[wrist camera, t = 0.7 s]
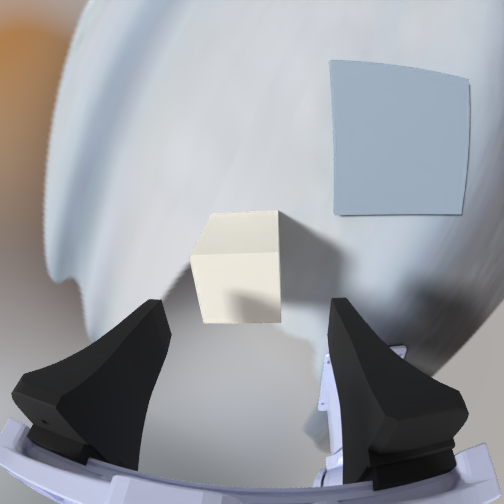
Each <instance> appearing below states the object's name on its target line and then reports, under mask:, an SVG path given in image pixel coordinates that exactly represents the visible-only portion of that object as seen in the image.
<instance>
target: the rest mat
mask: <svg viewBox="0 0 504 504" xmlns="http://www.w3.org/2000/svg"><path fill="white" fill-rule="evenodd" d="M329 65H330V78H331V93H332V111H333V138H334V214H335V215H374V214H461V212H462V205H463V198H464V191H465V183H466V173H467V162H468V148H469V122H470V102H469V79H466V78H462V77H458V76H454V75H449V74H445V73H440V72H435V71H430V70H424V69H418V68H412V67H406V66H399V65H391V64H382V63H372V62H361V61H345V60H330V61H329Z"/></svg>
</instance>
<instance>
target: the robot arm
mask: <svg viewBox="0 0 504 504" xmlns="http://www.w3.org/2000/svg"><path fill="white" fill-rule="evenodd" d="M171 335H172V334H171V331H170V328H169V325H168V321H167V318H166V314H165V311H164V308H163V304H162V300H154V299H149V300H147V301H146V302H145V303H143V304H142V305H141V306H140V307H138V308H137V309H136V310H135V311H134V312H132V313H131V314H130V315H129V316H128V317H126V318H125V319H124V320H123V321H122V322H120V323H119V324H118V325H117V326H115V327H114V328H113V329H112V330H110V331H109V332H108V333H106V334H105V335H104V336H102V337H101V338H100V339H98V340H97V341H95V342H94V343H92V344H91V345H89V346H88V347H86V348H85V349H83V350H81V351H79V352H77V353H76V354H73V355H72V356H70V357H68V358H66V359H64V360H62V361H59V362H57V363H55V364H52V365H50V366H47V367H45V368H42V369H39V370H35V371H32V372H29V373H25V374H24V375H23V376H22V377H21V379H20V381H19V382H18V384H17V385H16V387H15V388H14V390H13V392H12V393H11V394H12V398H13V400H14V402H15V404H16V405H17V406H18V408H20V409H21V411H22V412H23V413H24V414H25V415H26V416H27V418H28V419H29V420H30V421H31V422H32V423H33V425H32V427H31V429H30V428H29V427H28V426H26V425H25V424H23V423H21V422H19V421H17V420H15V419H13V418H9V420H8V422H7V423H6V425H5V427H4V429H3V430H2V432H1V434H0V466H1V467H2V468H3V469H5V470H6V471H7V472H9V473H10V474H11V475H12V476H14V477H15V478H16V479H18V480H19V481H21V482H22V483H24V484H25V485H27V486H29V487H30V488H32V489H34V490H36V491H37V492H39V493H41V494H43V495H44V496H46V497H48V498H50V499H52V500H53V501H55V502H57V503H59V504H489V503H491V502H492V501H494V500H495V499H497V498H498V497H500V496H501V491H500V487H499V483H498V480H497V476H496V473H495V470H494V466H493V463H492V460H491V457H490V454H489V451H488V448H487V445H486V443H482V444H479V445H477V446H474V447H472V448H469V449H466V450H463V451H461V452H459V453H457V454H456V455H454V454H453V450H452V449H453V448H454V447H455V442H454V439H453V437H454V436H455V435H456V434H457V432H458V431H459V430H460V429H461V427H462V426H463V425H464V423H465V422H466V420H467V418H468V414H469V413H468V410H467V408H466V405H465V402H464V400H463V398H462V396H461V394H460V392H459V391H458V390H456V389H453V388H451V387H449V386H447V385H444V384H442V383H440V382H438V381H436V380H435V379H433V378H431V377H429V376H428V375H426V374H424V373H423V372H421V371H419V370H418V369H416V368H415V367H414V366H412V365H411V364H409V363H408V362H407V361H405V360H404V357H405V354H406V351H407V349H406V347H405V346H404V345H401V346H393V347H388V346H387V345H386V344H385V343H384V342H383V341H382V340H381V339H380V338H379V337H378V336H377V334H376V333H375V332H374V331H373V330H372V329H371V328H370V327H369V325H368V324H367V323H366V322H365V321H364V320H363V318H362V317H361V316H360V315H359V313H358V312H357V311H356V310H355V308H354V307H353V306H352V304H351V303H350V302H349V300H348V299H347V298H331V307H330V317H329V326H328V346H329V353H327V354H326V355H325V358H324V366H323V374H322V382H321V389H320V396H319V403H318V410H320V411H326V410H327V412H328V422H329V434H330V446H331V453H332V456H330V457H327V458H326V468H324V469H321V470H320V471H319V473H318V474H317V476H316V478H315V480H314V482H313V486H312V487H308V488H248V487H247V488H246V487H231V486H220V485H211V484H203V483H195V482H189V481H182V480H176V479H171V478H166V477H160V476H156V475H151V474H147V473H142V472H138V463H139V453H140V445H141V438H142V432H143V427H144V422H145V417H146V412H147V408H148V404H149V400H150V397H151V394H152V391H153V389H154V386H155V384H156V381H157V378H158V376H159V373H160V371H161V368H162V366H163V363H164V360H165V358H166V355H167V352H168V348H169V343H170V339H171Z"/></svg>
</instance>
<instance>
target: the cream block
mask: <svg viewBox="0 0 504 504" xmlns="http://www.w3.org/2000/svg"><path fill="white" fill-rule="evenodd" d="M189 257H190V262H191V267H192V272H193V276H194V281H195V286H196V291H197V295H198V300H199V304H200V309H201V314H202V318H203V322H204V323H281V264H280V241H279V220H278V210H271V211H250V212H232V213H215V214H211V216H210V217H209V219H208V221H207V223H206V225H205V227H204V229H203V230H202V232H201V234H200V236H199V238H198V240H197V242H196V244H195V245H194V247H193V249H192V251H191V253H190V255H189Z"/></svg>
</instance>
